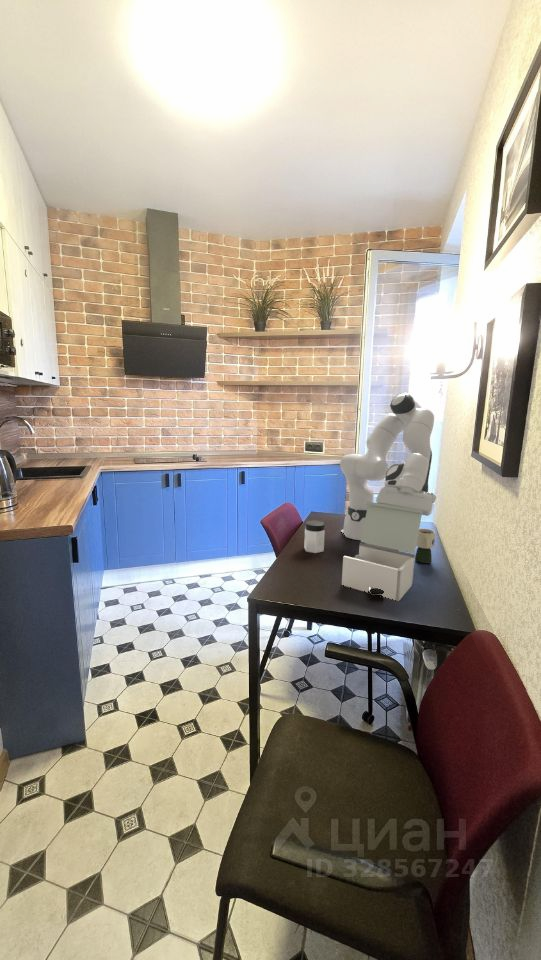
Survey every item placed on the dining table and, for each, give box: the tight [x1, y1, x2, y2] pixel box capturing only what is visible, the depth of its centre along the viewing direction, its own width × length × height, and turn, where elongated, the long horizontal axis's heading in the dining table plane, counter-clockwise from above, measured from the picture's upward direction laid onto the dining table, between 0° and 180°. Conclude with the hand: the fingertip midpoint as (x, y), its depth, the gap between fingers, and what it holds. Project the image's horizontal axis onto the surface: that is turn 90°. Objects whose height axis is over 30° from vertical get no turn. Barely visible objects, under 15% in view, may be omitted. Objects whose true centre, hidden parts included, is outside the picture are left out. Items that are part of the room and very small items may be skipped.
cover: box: [360, 501, 423, 555], centre depth 148 cm, size 15×20×2 cm
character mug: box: [414, 528, 436, 564], centre depth 165 cm, size 11×7×13 cm, turn 168°
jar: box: [303, 519, 326, 554], centre depth 177 cm, size 9×8×12 cm
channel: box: [341, 542, 416, 602], centre depth 143 cm, size 15×20×12 cm
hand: (398, 519), depth 151 cm, fingers closed
